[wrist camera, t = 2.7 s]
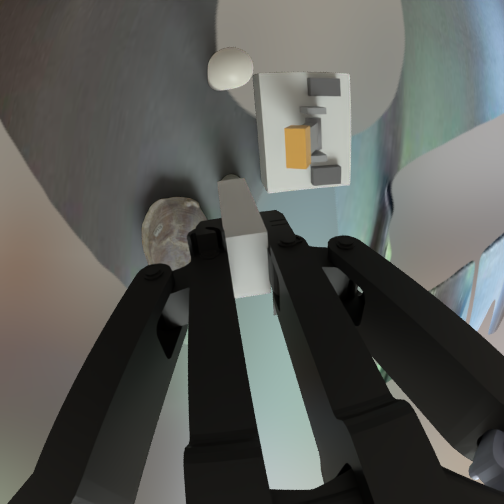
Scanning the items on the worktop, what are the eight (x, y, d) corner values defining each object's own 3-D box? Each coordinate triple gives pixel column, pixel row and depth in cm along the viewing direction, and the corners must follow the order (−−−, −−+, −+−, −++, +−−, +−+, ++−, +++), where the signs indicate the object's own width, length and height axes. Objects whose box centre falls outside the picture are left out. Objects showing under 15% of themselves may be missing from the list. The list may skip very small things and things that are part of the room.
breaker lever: (306, 116, 34) (284, 128, 26) (322, 117, 33) (305, 128, 25) (307, 146, 36) (286, 168, 28) (322, 147, 35) (306, 169, 27)
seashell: (164, 185, 37) (131, 297, 34) (236, 215, 43) (209, 315, 41) (145, 195, 44) (118, 286, 42) (207, 219, 51) (184, 303, 49)
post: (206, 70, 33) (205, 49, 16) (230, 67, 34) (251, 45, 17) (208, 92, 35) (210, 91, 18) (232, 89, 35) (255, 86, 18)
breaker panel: (252, 75, 35) (263, 71, 28) (334, 74, 35) (360, 73, 29) (261, 182, 43) (272, 201, 36) (336, 174, 44) (359, 192, 37)
